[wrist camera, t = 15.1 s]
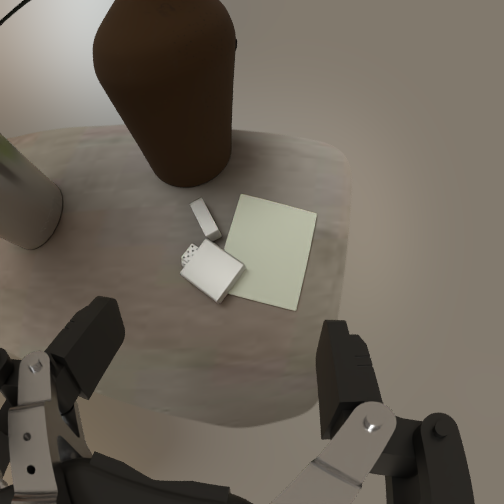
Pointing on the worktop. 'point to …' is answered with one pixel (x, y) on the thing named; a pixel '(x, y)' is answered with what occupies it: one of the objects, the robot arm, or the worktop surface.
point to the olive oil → (171, 82)
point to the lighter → (210, 259)
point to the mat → (270, 250)
